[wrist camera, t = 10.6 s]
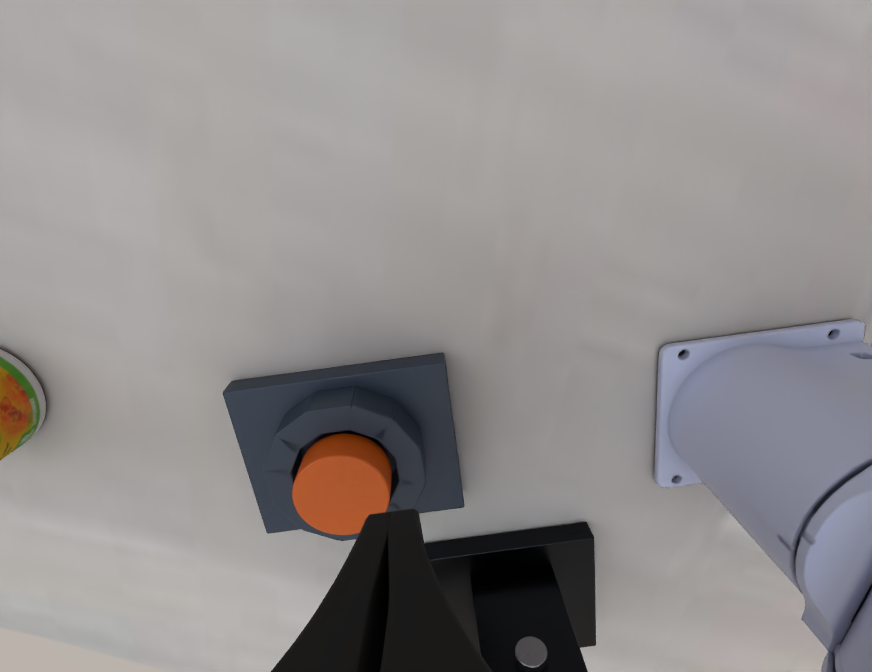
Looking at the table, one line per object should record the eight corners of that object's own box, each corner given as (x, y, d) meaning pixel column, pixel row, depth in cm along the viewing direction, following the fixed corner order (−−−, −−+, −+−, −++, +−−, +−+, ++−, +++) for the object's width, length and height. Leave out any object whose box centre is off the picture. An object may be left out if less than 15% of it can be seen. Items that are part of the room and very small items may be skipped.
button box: (443, 351, 22) (448, 379, 20) (462, 492, 25) (468, 534, 22) (231, 380, 23) (205, 412, 20) (273, 517, 25) (255, 562, 22)
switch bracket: (441, 646, 29) (450, 810, 22) (422, 543, 26) (426, 691, 19) (589, 627, 29) (648, 784, 22) (586, 521, 26) (653, 661, 19)
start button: (383, 426, 21) (381, 449, 19) (398, 501, 22) (396, 529, 21) (291, 438, 21) (281, 463, 19) (312, 513, 22) (303, 541, 21)
